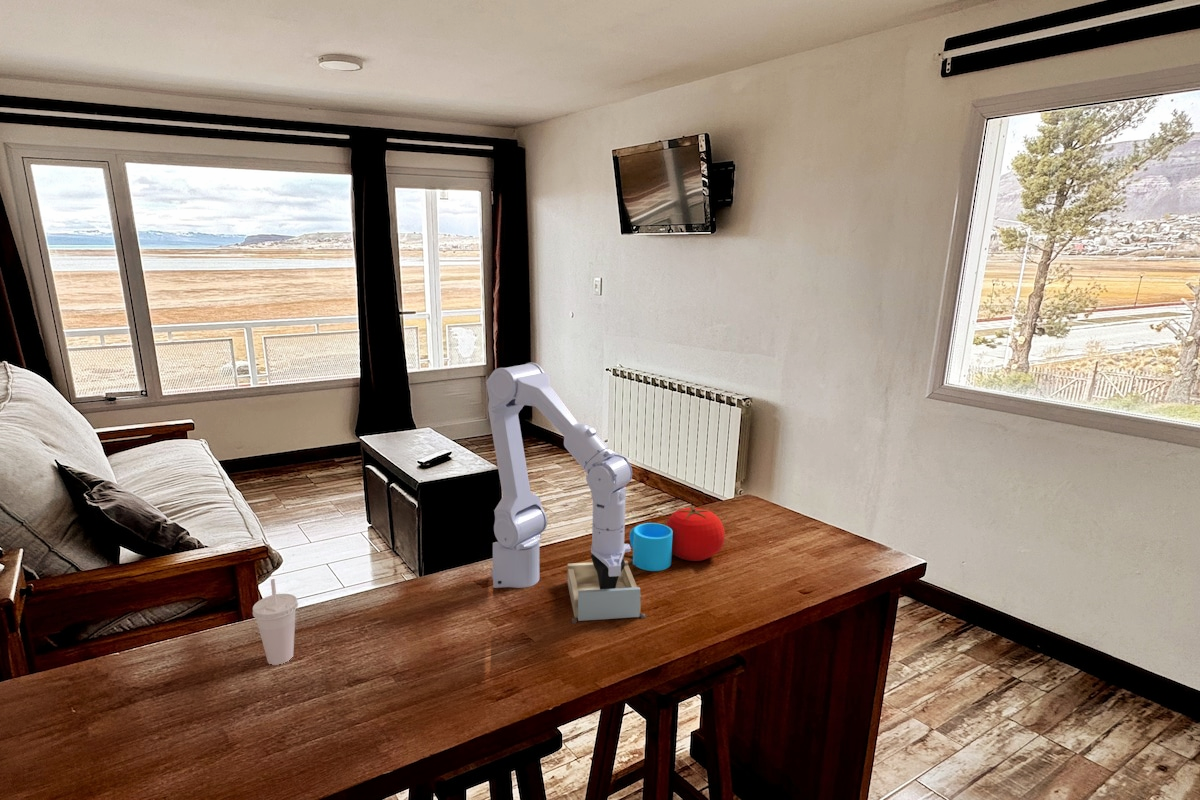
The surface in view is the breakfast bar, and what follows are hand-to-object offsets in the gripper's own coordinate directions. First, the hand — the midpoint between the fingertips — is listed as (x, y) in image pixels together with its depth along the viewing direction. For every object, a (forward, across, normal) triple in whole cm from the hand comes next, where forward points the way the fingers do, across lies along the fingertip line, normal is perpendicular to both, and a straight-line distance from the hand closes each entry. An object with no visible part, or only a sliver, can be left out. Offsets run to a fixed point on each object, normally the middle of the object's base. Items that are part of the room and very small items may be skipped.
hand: (607, 594), depth 115 cm
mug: (+5, +20, -12) cm, 24 cm away
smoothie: (+5, -6, +54) cm, 55 cm away
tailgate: (+3, -3, 0) cm, 4 cm away
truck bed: (+4, +5, 0) cm, 7 cm away
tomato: (+5, +22, -23) cm, 32 cm away
